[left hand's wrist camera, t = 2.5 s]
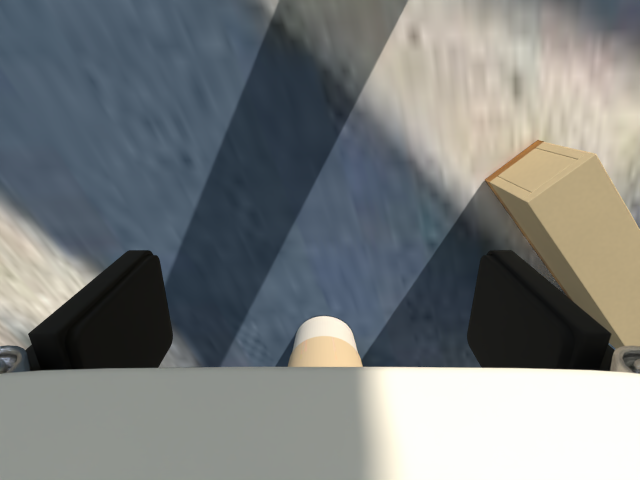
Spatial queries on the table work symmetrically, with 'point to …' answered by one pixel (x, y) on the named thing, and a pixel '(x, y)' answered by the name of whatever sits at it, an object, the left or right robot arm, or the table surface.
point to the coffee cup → (324, 345)
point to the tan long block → (577, 231)
